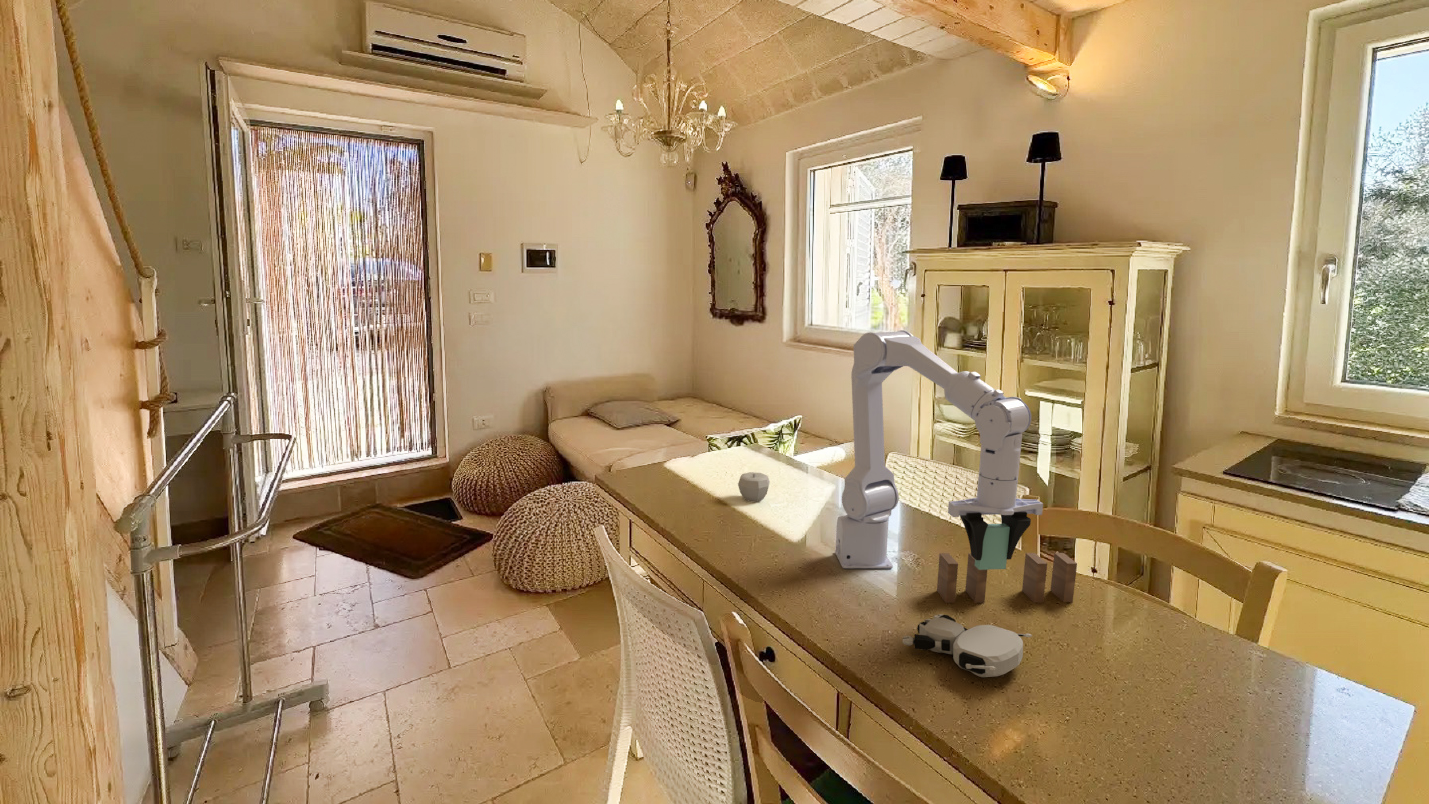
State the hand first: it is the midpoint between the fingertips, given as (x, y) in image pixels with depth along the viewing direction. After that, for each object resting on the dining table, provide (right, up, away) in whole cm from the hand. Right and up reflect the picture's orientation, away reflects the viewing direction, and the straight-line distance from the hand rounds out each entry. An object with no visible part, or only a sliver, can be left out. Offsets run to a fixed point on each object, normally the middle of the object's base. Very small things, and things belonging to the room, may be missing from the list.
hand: (990, 557), depth 111 cm
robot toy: (-8, -12, -11) cm, 18 cm away
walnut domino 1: (-4, -9, +8) cm, 13 cm away
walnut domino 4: (+16, -9, +8) cm, 20 cm away
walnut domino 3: (+11, -9, +8) cm, 16 cm away
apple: (-35, +1, +57) cm, 67 cm away
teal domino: (0, -2, 0) cm, 2 cm away
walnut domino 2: (+1, -9, +8) cm, 12 cm away
